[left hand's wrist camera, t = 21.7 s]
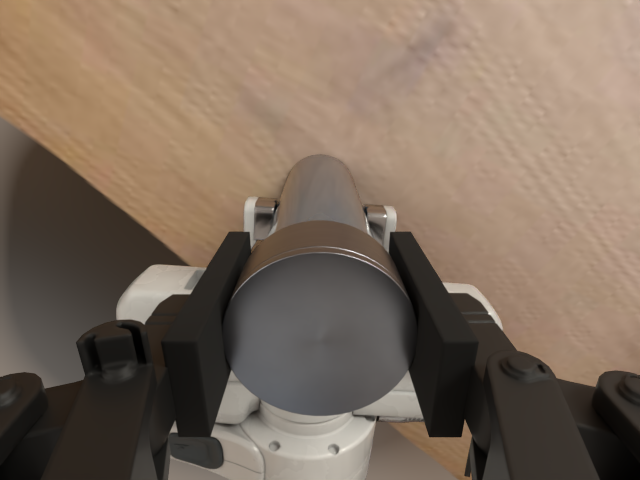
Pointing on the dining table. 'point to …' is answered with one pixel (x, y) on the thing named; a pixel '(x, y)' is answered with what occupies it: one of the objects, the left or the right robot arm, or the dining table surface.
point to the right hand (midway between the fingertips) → (320, 203)
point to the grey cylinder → (319, 195)
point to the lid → (319, 320)
